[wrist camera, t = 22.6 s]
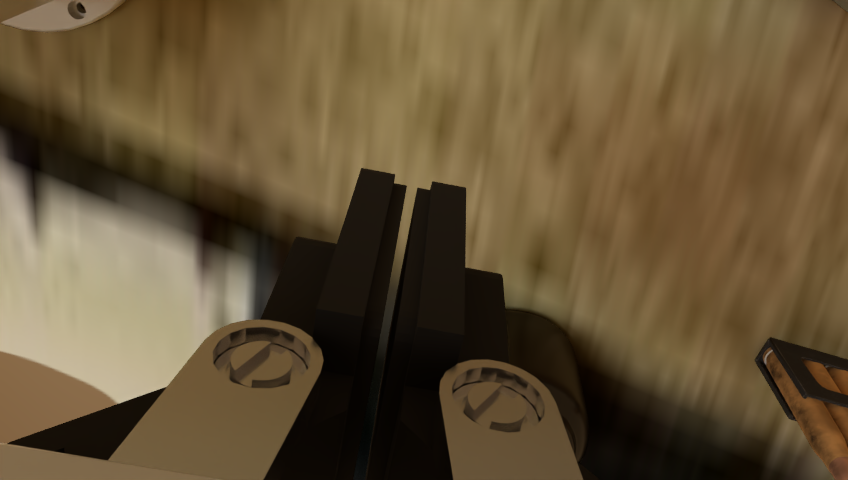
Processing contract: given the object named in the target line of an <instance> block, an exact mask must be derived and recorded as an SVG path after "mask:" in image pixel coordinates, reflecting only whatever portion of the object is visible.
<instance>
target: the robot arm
mask: <svg viewBox="0 0 848 480" xmlns="http://www.w3.org/2000/svg"><path fill="white" fill-rule="evenodd" d="M125 1H126V0H0V24H4V25H7V26H11V27H14V28H18V29H21V30H27V31H37V32H47V33H48V32H58V31H68V30H73V29H76V28H79V27H82V26H85V25H88V24H91V23H93V22H95V21H97V20H99V19H101V18H103V17H105V16H107V15H109V14H110V13H111V12H112V11H114V10H115V9H116V8H118V7H119V6H120V5H121V4H123V3H124V2H125ZM80 4H82V5H83V6H84V7H85V10H86V11H84V10H83V9H82V8H81V5H80ZM394 179H395V174H390V173H385V172H380V171H374V170H369V169H364V168H361V171H360V174H359V177H358V180H357V183H356V187H355V190H354V193H353V196H352V199H351V202H350V205H349V208H348V211H347V215H346V218H345V221H344V224H343V227H342V230H341V233H340V236H339V240H338V243H337V244H335V243H330V242H324V241H319V240H313V239H308V238H303V237H296V239H295V240H294V242H293V245H292V247H291V249H290V252H289V254H288V256H287V259H286V261H285V263H284V266H283V268H282V270H281V273H280V275H279V277H278V280H277V282H276V284H275V287H274V289H273V291H272V294H271V296H270V298H269V301H268V303H267V305H266V308H265V310H264V313H263V315H262V317H261V320H246V321H241V322H236V323H231V324H229V325H227V326H224V327H222V328H220V329H218V330H216V331H215V332H214V333H212V334H211V335H210V336H209V337H208V338H207V339H205V340H204V342H203V343H202V344H201V345H200V347H199V348H198V349H197V350H196V352H195V353H194V354H193V355H192V357H191V358H190V359H189V360H188V362H187V363H186V364H185V365H184V366H183V368H182V369H181V370H180V371H179V373H178V374H177V375H176V376H175V378H174V379H173V380H172V381H171V383H170V384H169V385H168V386H167V387H165V388H162V389H159V390H157V391H154V392H151V393H148V394H145V395H142V396H139V397H137V398H134V399H131V400H128V401H125V402H122V403H120V404H117V405H114V406H111V407H108V408H105V409H103V410H100V411H97V412H94V413H91V414H89V415H86V416H83V417H80V418H77V419H74V420H72V421H69V422H66V423H63V424H60V425H57V426H55V427H52V428H49V429H46V430H43V431H40V432H37V433H34V434H32V435H29V436H26V437H23V438H21V439H18V440H15V441H12V442H9V443H7V444H5V443H0V480H353V476H354V471H355V466H356V460H357V455H358V450H359V444H360V439H361V434H362V428H363V423H364V418H365V413H366V407H367V402H368V397H369V391H370V386H371V381H372V375H373V370H374V365H375V359H376V354H377V349H378V343H379V338H380V333H381V327H382V322H383V316H384V311H385V305H386V300H387V294H388V288H389V283H390V277H391V272H392V266H393V260H394V255H395V249H396V244H397V238H398V232H399V227H400V221H401V215H402V210H403V204H404V199H405V193H406V187H407V186H405V185H400V184H395V183H394ZM465 240H466V188H465V187H459V186H454V185H449V184H443V183H438V182H432V185H431V189H430V190H427V189H421V188H417V193H416V198H415V203H414V208H413V213H412V218H411V223H410V228H409V234H408V239H407V244H406V249H405V254H404V259H403V264H402V269H401V275H400V280H399V285H398V290H397V295H396V300H395V305H394V310H393V316H392V321H391V326H390V331H389V337H388V342H387V348H386V354H385V360H384V367H383V373H382V379H381V385H380V391H379V398H378V404H377V410H376V416H375V422H374V429H373V435H372V441H371V447H370V453H369V459H368V466H367V472H366V478H365V480H599V479H598V478H597V477H596V476H594V475H593V474H592V473H591V472H590V471H588V470H587V469H586V468H585V467H583V466H582V465H581V464H580V463H579V462H577V461H576V458H575V455H574V452H573V449H572V447H571V444H570V441H569V438H568V435H567V433H566V430H565V427H564V424H563V421H562V418H561V416H560V413H559V410H558V407H557V404H556V402H555V400H554V398H553V397H552V395H551V393H550V391H549V390H548V389H547V388H546V387H545V386H544V385H543V384H542V383H541V382H540V381H539V380H538V379H537V378H536V377H534V376H532V375H531V374H529V373H528V372H526V371H524V370H523V369H521V368H518V367H515V366H513V365H510V364H509V356H508V343H507V329H506V315H505V301H504V287H503V278H502V275H501V274H498V273H492V272H487V271H482V270H476V269H471V268H465Z"/></svg>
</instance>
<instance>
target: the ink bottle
mask: <svg viewBox="0 0 848 480" xmlns="http://www.w3.org/2000/svg"><path fill="white" fill-rule="evenodd" d="M505 315H506V329H507V343H508V356H509V364H510V365H513V366H515V367H518V368H521V369H523V370H524V371H526V372H528V373H529V374H531V375H532V376H534V377H536V378H537V379H538V380H539V381H540V382H541V383H542V384H543V385H544V386H545V387H546V388H547V389H548V390H549V391H550V393H551V395H552V397H553V398H554V400H555V402H556V404H557V407H558V410H559V413H560V416H561V418H562V421H563V424H564V427H565V430H566V433H567V435H568V438H569V441H570V444H571V447H572V449H573V452H574V455H575V458H576V461H577V462H579V463H580V462H581V461H582V459H583V457H584V455H585V452H586V449H587V446H588V441H589V421H588V415H587V410H586V405H585V400H584V395H583V390H582V385H581V380H580V375H579V370H578V365H577V360H576V356H575V352H574V350H573V347H572V345H571V343H570V341H569V340H568V338H567V337H566V335H565V334H564V333H563V332H562V331H561V330H560V329H559V328H558V327H557V326H555V325H554V324H553V323H551V322H550V321H548V320H546V319H544V318H542V317H539V316H537V315H534V314H530V313H526V312H521V311H512V310H505Z"/></svg>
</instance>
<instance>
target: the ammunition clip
mask: <svg viewBox="0 0 848 480" xmlns="http://www.w3.org/2000/svg"><path fill="white" fill-rule="evenodd" d="M755 362H756V364H757V365H758V367H759V369H760V371H761V372H762V374H763V376H764V377H765V379H766V381H767V382H768V384H769V386H770V388H771V389H772V391H773V393H774V394H775V396H776V398H777V400H778V401H779V403H780V405H781V406H782V408H783V410H784V411H785V413H786V415H787V417H788V418H789V419H791V420H794V421H797V422H798V424H799V426H800V427H801V429H802V431H803V433H804V434H805V436H806V438H807V440H808V442H809V443H810V445H811V447H812V449H813V450H814V452H815V453H816V454H817V455H818V456H819V457H820V458H821V459H822V461H823V462H824V464H825V465H826V467H827V468H828V470H829V471H830V472H831V474H832V475H833V477H834V479H835V480H848V360H847V359H844V358H840V357H837V356H833V355H830V354H826V353H823V352H819V351H816V350H812V349H809V348H805V347H802V346H798V345H795V344H792V343H788V342H785V341H781V340H778V339H774V338H771V337H770V339H768V341H767V342H766V344H765V345H764V347H763V348H762V350H761V352H760V353H759V355H758V356H757V358H756V359H755Z"/></svg>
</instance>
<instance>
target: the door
mask: <svg viewBox="0 0 848 480" xmlns="http://www.w3.org/2000/svg"><path fill="white" fill-rule="evenodd" d="M833 1H834V2H835V3H837V4H838V5H839V6H840V7H842V8H843V9H844V10H845V11H847V12H848V0H833Z"/></svg>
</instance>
